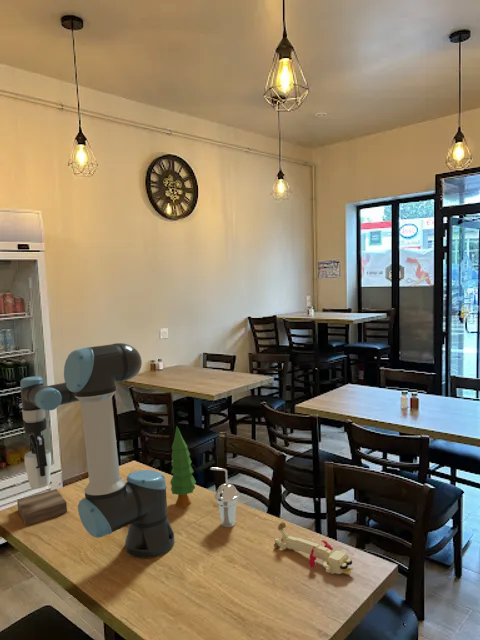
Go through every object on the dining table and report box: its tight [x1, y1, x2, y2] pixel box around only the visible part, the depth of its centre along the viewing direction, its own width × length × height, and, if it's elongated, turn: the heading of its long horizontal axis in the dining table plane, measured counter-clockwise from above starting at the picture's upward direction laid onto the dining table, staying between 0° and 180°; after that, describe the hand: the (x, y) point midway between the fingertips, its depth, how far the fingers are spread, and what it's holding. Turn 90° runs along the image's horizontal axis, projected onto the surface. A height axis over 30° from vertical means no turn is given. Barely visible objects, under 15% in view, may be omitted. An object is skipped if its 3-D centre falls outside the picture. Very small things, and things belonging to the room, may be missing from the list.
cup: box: [24, 448, 52, 490], centre depth 173 cm, size 9×9×12 cm
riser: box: [16, 488, 68, 526], centre depth 174 cm, size 14×14×4 cm
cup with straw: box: [209, 467, 241, 528], centre depth 159 cm, size 8×9×20 cm
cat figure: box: [273, 521, 354, 576], centre depth 138 cm, size 10×9×25 cm
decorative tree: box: [170, 425, 197, 508], centre depth 175 cm, size 10×9×30 cm
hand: (39, 479), depth 173 cm, fingers closed on cup, 9 cm apart
